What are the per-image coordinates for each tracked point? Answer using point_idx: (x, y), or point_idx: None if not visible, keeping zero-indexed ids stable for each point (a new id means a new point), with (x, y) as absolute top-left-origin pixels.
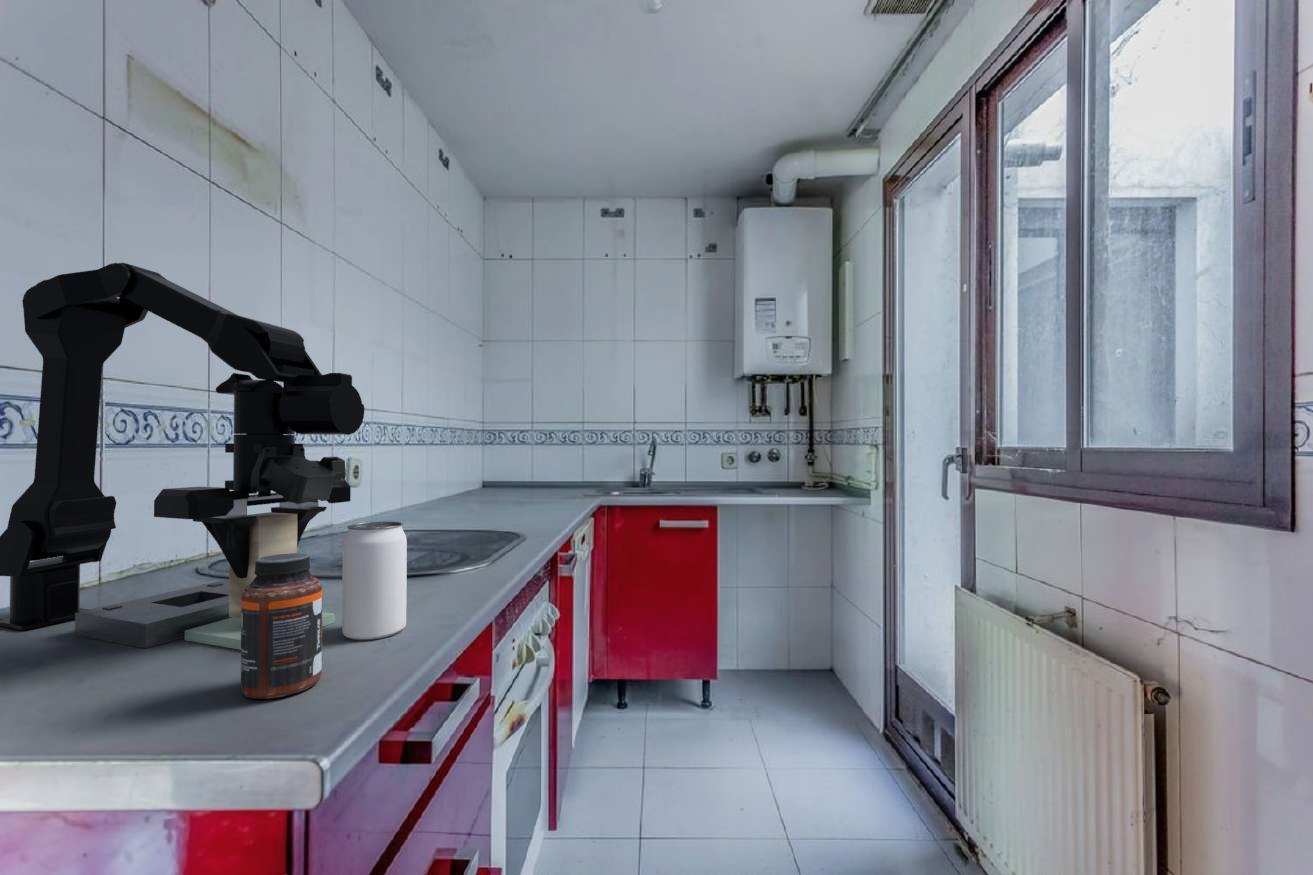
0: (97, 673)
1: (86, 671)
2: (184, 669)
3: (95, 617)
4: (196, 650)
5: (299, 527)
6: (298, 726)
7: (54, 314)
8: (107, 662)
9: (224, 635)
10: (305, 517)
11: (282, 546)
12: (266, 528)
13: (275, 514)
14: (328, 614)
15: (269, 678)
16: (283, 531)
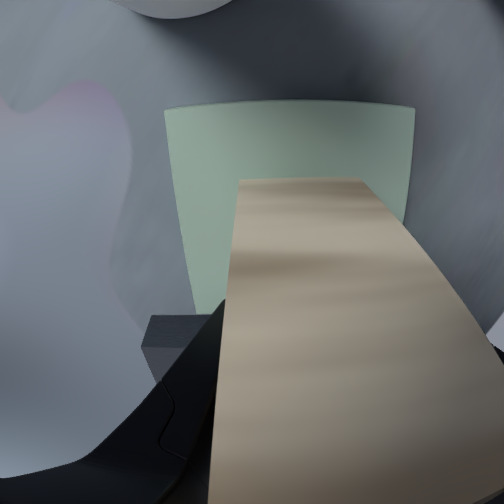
0: (499, 251)
1: (493, 271)
2: (486, 144)
3: None
4: (420, 219)
5: (159, 443)
6: None
7: None
8: (468, 284)
9: (398, 206)
10: (117, 495)
11: (334, 322)
12: (484, 417)
13: None
14: (176, 123)
15: None
16: (350, 410)
